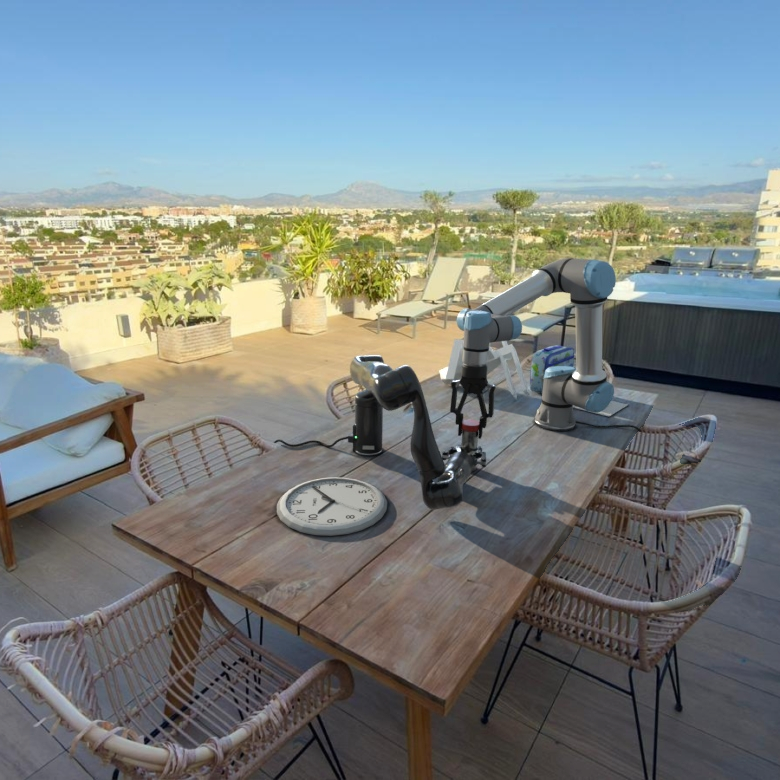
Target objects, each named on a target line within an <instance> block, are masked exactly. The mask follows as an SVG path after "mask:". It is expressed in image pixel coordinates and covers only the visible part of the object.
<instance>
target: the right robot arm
mask: <svg viewBox="0 0 780 780" xmlns="http://www.w3.org/2000/svg"><path fill="white" fill-rule="evenodd" d="M616 283H617V278H616V272H615V269H614V268H613V266H612V265H611V264H610V263H609V262H607V261H605V260H599V259H596V258H594V259H591V258H574V257H566V258H561V259H557V260H555V261H552V262H550V263H548V264H545V265H544V266H542V267H540V268H537V269H536V270H534V271H533V272H532V274H531V276H529V277H528V278H526V279H525V280H523V281H521V282H519V283H517V284H516V285H513V286H512V287H511V288H509V289H507V290H505V291H504V292H502V293H500V294H498V295H497V296H495V297H493V298H491V299H489V300H487V301H486V302H484V303H483V304H481V305H479V306H477V307H475V308H463V309H461V310H460V311H459V313H458V314H457V316H456V326H457V327H458V329H459V330H461V331H462V332H463V340H464V345H463V359H462V361H463V362H464V363H463V364H462V376H461V379H460V380H457V381H456V380H453V381H452V383H451V384H450V386H451V397H450V399H451V400H450V408H449V412H450V413H451V414H454V415H455V425H456V426H457V425H458V430H457V436H458V437H462V428H461V424H462V421H463V420H464V413H462V410H463V408H464V406H465V403H466V400H467V397H468V395H476V397H477V400H478V406H479V409H480V414H481V416H480V417H479V420H478V421H479V431H478V440H481V439H482V437H483V432H484V431H483V429H486V427H487V425H488V424H487V423H488V419H489V418H492V417H493V416H494V411H495V391H496V389H497V385H496V384H492V383H489V381H488V374H487V367H488V366H487V365H486V364H487V363H488V353H489V345H490V343H498V342H499V343H500V342H502V341H507V342H510V341H513V340H516V339H518V338H519V337H520V336H521V334H522V333H523V332H522V331H523V324H522V321H521V319H520V317H518V316H517V315H513V314H514V313H515V312H517V311H518V310H519V311H520V309H522V308H524V307H526V306H527V305H529V304H531V303H532V302H534V301H536V300H538V299H540V298H541V297H548V296H550V295H552V294H555V293H565V294H570V295H569V299H570V304H572V305H573V306H574V309H575V311H574V312H575V313H574V314H575V315H574V316H575V367H574V366H573V367H570V366H555V367H549V368H547V369H546V370H545V375H544V378H543V379H544V380H543V391H542V393H541V402H540V405H539V407H538V408H537V410H536V413H535V417H534V424H535V425H536V426H537V427H539V428H542V429H544V430H549V431H556V432H567V431H572V430H574V429H575V428H576V424H578V425H583V426H588V427H591V428H599V429H609V428H610V429H611V428H632V429H635V430H637V432H640V433H642V432H643V431H642V429H640V428H639V427H637V426H636V425H632V424H610V425H599V424H592V423H588V422H582V421H579V420H578V421H577V420H576V418H575V417H576V416H575V413H574V407H576V406H577V407H580V408H582V409H585V410H586V411H585V412H588V411H591V412H590V413H592V412H596V413H597V412H601V411H603V410H604V409H605V408H606V407H607V406H608V405H609V403H610V402H611V401H613V398H614V395H615V387H614V385H613V384H612V383H611V382H610V381H608V375H607V372H606V371H605V370H604V369H603V305H604V304H605V303H607V301H608V297H609V296H611V295H612V294H613V292H614V288H615V287H616ZM460 386H461V387H462V389H463V393H462V395H461V398H460V401H459V404H458V406H457V399H458V391H459V387H460ZM485 388H487V391H488V409H487V406H486V402H485V398H484V392H483V391H484V390H485ZM573 406H574V407H573ZM487 410H488V411H487ZM596 413H595V414H596Z"/></svg>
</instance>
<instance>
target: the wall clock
mask: <svg viewBox="0 0 780 780" xmlns="http://www.w3.org/2000/svg"><path fill="white" fill-rule="evenodd" d="M387 509H388V500H387V498H386V496H385V494H384V493H383V492H382V491H381V490H380V489H379V488H377V487H376V486H374V485H372V484H371V483H369V482H365V481H362V480H359V479H355V478H349V477H338V476H337V477H335V476H333V477H332V476H331V477H322V478H317V479H312V480H307V481H305V482H302V483H299V484H297V485H295V486H293V487H292V488H290V489H288V490H287V491H286V492H285V493H284V494H283V495H281V496H280V498H279V499H278V502H277V503H276V515H277V517H278V518H279V520H280V521H281V522H282V523H283V524H285V525H286V526H287V527H288V528H290V529H293V530H295V531H297V532H299V533H303V534H308V535H312V536H327V537H328V536H329V537H331V536H332V537H333V536H342V535H350V534H352V533H356V532H361V531H363V530H366V529H368V528H369V527H372V526H373V525H375V524H376V523H378V522H379V521H380V520H381V519H382V518H383V517H384V516H385V514H386V512H387Z"/></svg>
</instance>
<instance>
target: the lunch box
mask: <svg viewBox="0 0 780 780" xmlns="http://www.w3.org/2000/svg"><path fill="white" fill-rule="evenodd" d="M574 363H575V348H573V347H571V346H570V347H568V346H563V345H551V346H548V347H544V348H543V349H539V350H536V351H535V352H534V354H533V356H532V358H531V363H530V374H529V391H532V392H536V393H540V394H542V391H543V380H544V379H543V378H544V375H545V370H546V369H547V368H549V367H555V366H570V367H574Z"/></svg>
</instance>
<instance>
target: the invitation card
mask: <svg viewBox="0 0 780 780" xmlns="http://www.w3.org/2000/svg"><path fill="white" fill-rule="evenodd" d="M628 406H629V404H627V403H623V402H618V401H614V400H611V402H610V403H609V405H608V406H607V407H606V408H605V409H604V410H603V411H601V412H597V413H596V412H591V411H586V410H585V409H582V408H580V407H577V406H574V407H573V409H575V410H581V411H584V412H587V413H593V414H596V415H600V416H604V417H608V418H609V417H611V416H613V415H614V414H616V413H617V412H619V411H621V410H623V409H624V408H626V407H628Z"/></svg>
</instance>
